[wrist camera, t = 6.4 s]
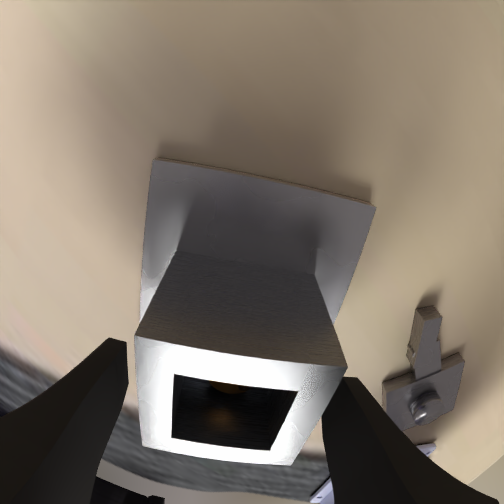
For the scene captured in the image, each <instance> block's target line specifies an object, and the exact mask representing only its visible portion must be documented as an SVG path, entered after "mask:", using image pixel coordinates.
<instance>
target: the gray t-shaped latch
mask: <svg viewBox="0 0 504 504" xmlns="http://www.w3.org/2000/svg"><path fill="white" fill-rule="evenodd" d="M441 321H442V316H441V315H440V313H439V312H438V311H437V310H436V309H435V307H434V306H429V307H424V308H419V309H416V311H415V317H414V322H413V327H412V333H411V337H410V342H409V345H408V351H407V358H408V360H409V361H410V363H411V370H412V372H410V373H408V374H405V375H402V376H400V377H397V378H394V379H391V380H388V381H385V382H383V383H382V396H383V410H384V411H385V412H386V413H387V415H388V416H389V417H390V418H391V419H392V421H393V422H394V423H395V424H396V425H397V426H398V428H399V429H400V430H401V431H403V430H406V429H409V428H411V427H414V426H417V425H425V424H428V423H430V422H432V421H434V420H435V419H437V418H438V417H439V416H441V415H443V414H445V413H447V412H449V411H452V410H453V408H454V404H455V401H456V397H457V393H458V389H459V385H460V381H461V376H462V372H463V367H464V362H465V361H464V359H463V358H462V356H461V355H460V354H459V353H456V354H454V355H452V356H450V357H447V358H445V359H443V360H441V351H440V340H439V338H438V333H439V329H440V325H441Z"/></svg>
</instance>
